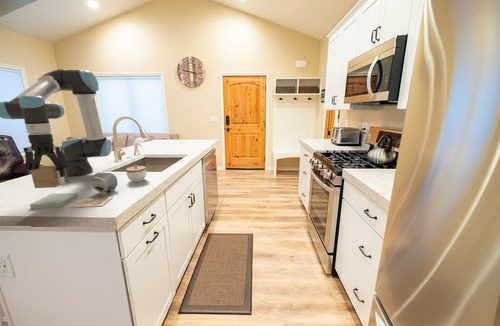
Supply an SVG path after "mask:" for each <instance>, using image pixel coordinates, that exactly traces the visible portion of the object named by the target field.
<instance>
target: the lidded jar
mask: <svg viewBox="0 0 500 326" xmlns="http://www.w3.org/2000/svg"><path fill="white" fill-rule="evenodd" d="M125 171H126V176H127V178H128V180H129V181H131V182H133V183H139V182H143V181H144V179H145V178H146V177H147V167H146V166H144V165H134V166H130V167H127V168H126V169H125Z"/></svg>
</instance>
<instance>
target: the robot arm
mask: <svg viewBox="0 0 500 326" xmlns="http://www.w3.org/2000/svg"><path fill="white" fill-rule="evenodd" d="M63 91H66V92H67V91H70V92H71V93H72V95H73V96H75V97H76V100H77V101H78V102H77V103H78V106H79V111H80V114H81V118H82V122H83V126H84V129H85V134H86V136H85V138H84V137H78V138H70V139H66V140H63V141H62V142H61V145H59V146H58V145H55V144H54V138H53V134H52V128H51V123H50V120H52V119H53V120H54V119H55V120H56V119H57V120H58V119H60V118H62V117H63V116H64V115H65V109H64V107H63V106H62V105H61V104H60V103H58V102H54V101H46V100H47V99H48V98H50V96H52V95H53V94H57V93H59V92H63ZM98 91H99V82H98V79H97V78H96V76H95V75H94V73H93V72H92V71H90V70H87V69H86V70H85V69H61V68H60V69H55V70H51V71H49V72H47V73H45V74H43V75H41V76H40V77H39V78H38V79H37V82H35V83H33V85H31V86H30V87H28V88H26V90H24V91H23V92H21V93H19V94H18V95H17V96H16V97H14V98H12V99H11V100H9V101H5V100H4V101H0V118H1V119H5V120H23V121H24V125H25V129H26V133H27V134H28V135H27V137H28V141H29V144H30V146H25V147H23V149H22V150H23V152H24V156H25V170H26V171H30V170H34V169H37V168H40V167H41V166H40V165H41V161H42V158H43V156H46V157H47V158H49V159H50V160H51V162H52V163H53V165H55V166H56V167H57V169H58V170H57V171H56V172H57V176H58V181H59V186H61V185H64V184H65V179H64V176H65V171H66V175H67V177H79V176H84V175H87V174H92V173H93V172H94V170H93V167H92V165H91V164H90V163H91V162H89V160H88V158H103V157H108V156H110V154H111V153H112V147H113V146H112V141H111V140H110V139H109V138H107V135H105V134H104V133H103V129H102V124H101V121H100V116H99V112H98V108H97V105H96V99H95V96H96V95H97V92H98ZM64 169H65V171H64Z"/></svg>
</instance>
